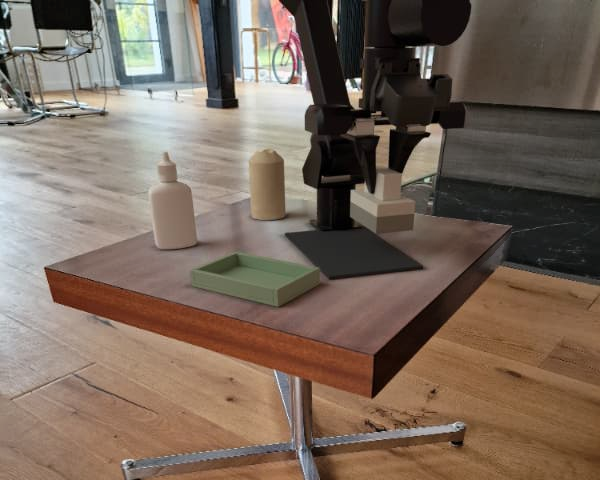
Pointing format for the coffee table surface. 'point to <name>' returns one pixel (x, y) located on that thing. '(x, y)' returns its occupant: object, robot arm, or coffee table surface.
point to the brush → (383, 204)
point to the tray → (256, 278)
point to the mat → (351, 253)
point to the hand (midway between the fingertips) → (381, 192)
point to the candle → (267, 185)
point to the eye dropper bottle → (171, 209)
